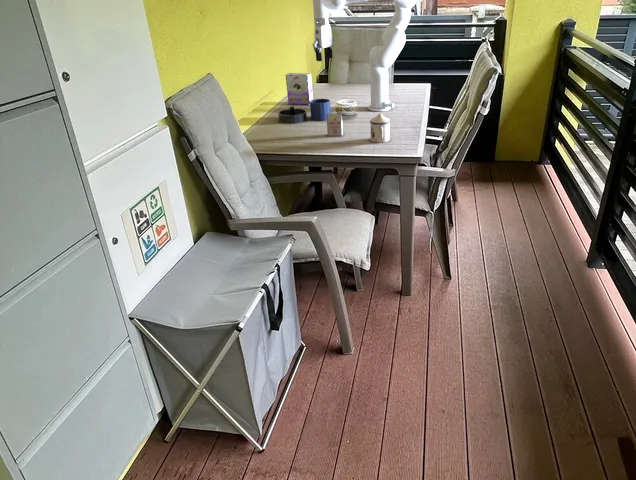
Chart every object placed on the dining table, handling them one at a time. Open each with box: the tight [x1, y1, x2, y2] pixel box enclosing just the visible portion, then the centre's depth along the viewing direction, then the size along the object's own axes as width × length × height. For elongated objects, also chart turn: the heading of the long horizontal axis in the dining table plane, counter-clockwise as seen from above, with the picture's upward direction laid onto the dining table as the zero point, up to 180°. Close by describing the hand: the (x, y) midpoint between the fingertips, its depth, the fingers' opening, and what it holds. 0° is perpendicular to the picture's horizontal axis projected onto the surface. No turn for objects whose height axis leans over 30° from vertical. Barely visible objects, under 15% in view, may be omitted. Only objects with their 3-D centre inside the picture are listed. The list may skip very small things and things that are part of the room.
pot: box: [309, 98, 332, 122], centre depth 279 cm, size 10×10×9 cm
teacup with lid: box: [369, 113, 391, 144], centre depth 241 cm, size 12×9×12 cm
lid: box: [289, 105, 299, 115], centre depth 278 cm, size 11×11×6 cm
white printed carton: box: [326, 113, 344, 137], centre depth 251 cm, size 4×7×10 cm, turn 84°
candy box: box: [285, 72, 314, 106], centre depth 306 cm, size 14×6×16 cm, turn 71°
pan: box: [277, 108, 308, 124], centre depth 279 cm, size 15×15×4 cm
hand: (324, 59), depth 273 cm, fingers open, 9 cm apart
